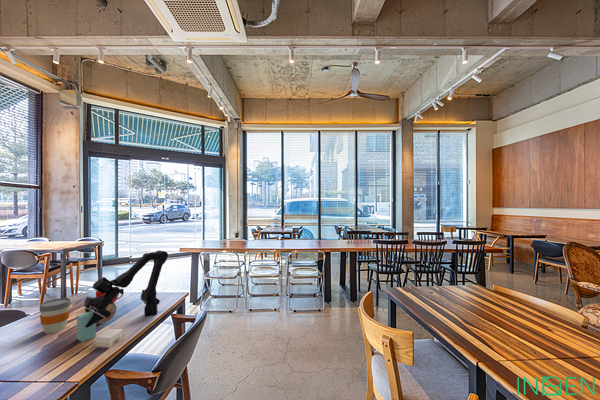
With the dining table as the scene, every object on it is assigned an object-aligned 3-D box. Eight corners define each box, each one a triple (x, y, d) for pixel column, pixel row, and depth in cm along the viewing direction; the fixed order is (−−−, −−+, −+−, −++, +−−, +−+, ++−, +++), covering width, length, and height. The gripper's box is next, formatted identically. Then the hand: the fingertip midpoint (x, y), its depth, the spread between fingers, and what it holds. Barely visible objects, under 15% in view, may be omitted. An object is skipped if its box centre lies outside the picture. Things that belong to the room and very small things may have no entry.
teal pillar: (90, 333, 135) (91, 310, 136) (95, 336, 132) (96, 313, 133) (76, 338, 130) (77, 315, 130) (81, 341, 127) (81, 317, 127)
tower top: (108, 333, 131) (108, 328, 131) (122, 334, 131) (122, 329, 131) (94, 342, 123) (94, 337, 123) (110, 342, 123) (110, 337, 123)
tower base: (108, 338, 132) (108, 333, 132) (124, 338, 131) (124, 334, 131) (92, 347, 123) (92, 342, 123) (109, 348, 122) (110, 343, 122)
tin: (98, 326, 143) (98, 311, 143) (92, 326, 143) (92, 311, 143) (116, 315, 158) (116, 301, 158) (111, 315, 158) (111, 301, 158)
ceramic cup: (115, 308, 168) (115, 293, 168) (90, 308, 168) (90, 293, 168) (129, 300, 181) (129, 286, 181) (105, 300, 181) (105, 286, 181)
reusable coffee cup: (42, 337, 131) (43, 308, 131) (35, 331, 138) (36, 303, 138) (74, 327, 142) (74, 300, 142) (66, 322, 148) (66, 296, 149)
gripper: (88, 287, 140) (61, 314, 130) (104, 293, 130) (76, 323, 121) (105, 297, 146) (80, 324, 137) (121, 303, 137) (96, 333, 127)
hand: (83, 325), depth 130 cm, fingers closed on teal pillar, 6 cm apart
